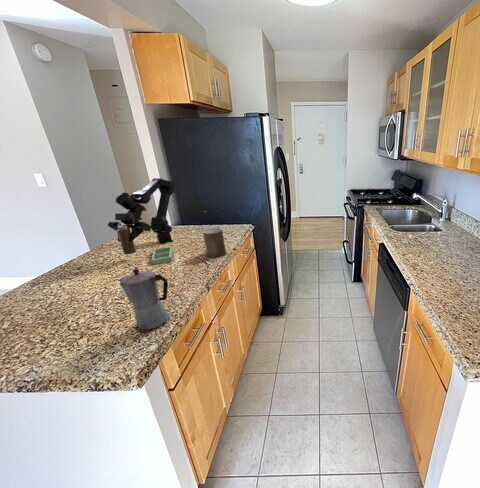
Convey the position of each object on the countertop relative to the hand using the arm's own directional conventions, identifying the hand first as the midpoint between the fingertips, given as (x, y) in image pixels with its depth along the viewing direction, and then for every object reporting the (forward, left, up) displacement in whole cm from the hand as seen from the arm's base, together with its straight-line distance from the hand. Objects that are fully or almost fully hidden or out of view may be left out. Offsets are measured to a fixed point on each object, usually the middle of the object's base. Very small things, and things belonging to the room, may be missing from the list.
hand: (124, 241), depth 129 cm
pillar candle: (-34, +23, -11) cm, 43 cm away
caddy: (-13, +7, -11) cm, 18 cm away
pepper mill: (-1, -1, -6) cm, 7 cm away
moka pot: (+7, +63, -11) cm, 64 cm away
